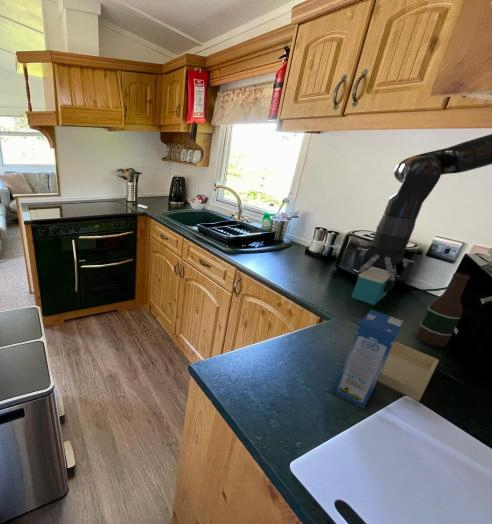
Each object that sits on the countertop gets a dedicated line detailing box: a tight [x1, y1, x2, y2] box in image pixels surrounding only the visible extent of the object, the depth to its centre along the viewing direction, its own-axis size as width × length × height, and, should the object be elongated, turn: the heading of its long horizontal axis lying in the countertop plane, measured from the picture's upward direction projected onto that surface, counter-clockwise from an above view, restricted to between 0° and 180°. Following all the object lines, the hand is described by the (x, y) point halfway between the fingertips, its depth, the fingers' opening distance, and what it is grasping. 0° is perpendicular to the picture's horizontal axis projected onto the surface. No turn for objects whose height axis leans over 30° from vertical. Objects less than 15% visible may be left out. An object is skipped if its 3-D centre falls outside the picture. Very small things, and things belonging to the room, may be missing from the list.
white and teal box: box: [351, 266, 389, 306], centre depth 86 cm, size 6×12×8 cm, turn 128°
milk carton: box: [333, 309, 405, 409], centre depth 69 cm, size 10×6×20 cm, turn 131°
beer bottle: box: [415, 272, 471, 348], centre depth 92 cm, size 8×8×24 cm
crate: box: [377, 341, 440, 402], centre depth 81 cm, size 16×22×3 cm
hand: (372, 286), depth 86 cm, fingers closed on white and teal box, 6 cm apart
